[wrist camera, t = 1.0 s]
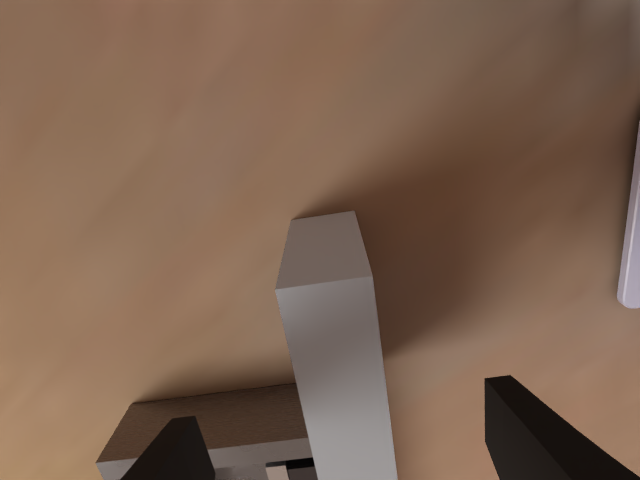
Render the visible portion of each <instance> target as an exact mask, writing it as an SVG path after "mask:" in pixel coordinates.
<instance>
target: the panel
mask: <svg viewBox="0 0 640 480" xmlns="http://www.w3.org/2000/svg"><path fill="white" fill-rule="evenodd" d="M275 291H276V295H277V300H278V304H279V309H280V313H281V318H282V322H283V326H284V331H285V335H286V340H287V344H288V349H289V353H290V357H291V362H292V366H293V371H294V375H295V380H296V384H297V388H298V393H299V397H300V402H301V406H302V411H303V415H304V419H305V424H306V428H307V433H308V437H309V442H310V446H311V450H312V455H313V459H314V464H315V468H316V473H317V477H318V480H398V478H397V470H396V462H395V454H394V446H393V438H392V429H391V421H390V413H389V405H388V397H387V389H386V381H385V373H384V364H383V356H382V348H381V340H380V332H379V324H378V316H377V307H376V299H375V291H374V283H373V275H372V272H371V268H370V265H369V261H368V257H367V254H366V250H365V247H364V243H363V239H362V236H361V232H360V229H359V225H358V221H357V218H356V214H355V211H348V212H341V213H335V214H328V215H322V216H315V217H308V218H302V219H295V220H291V222H290V226H289V231H288V235H287V240H286V244H285V249H284V253H283V257H282V262H281V266H280V271H279V275H278V279H277V284H276V288H275Z"/></svg>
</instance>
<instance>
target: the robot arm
mask: <svg viewBox="0 0 640 480" xmlns="http://www.w3.org/2000/svg"><path fill="white" fill-rule="evenodd" d="M617 299H618V301H619V302H620V303H621V304H623V305H624V306H625V307H628V308H640V122H639V130H638V138H637V145H636V153H635V161H634V169H633V176H632V184H631V192H630V199H629V207H628V215H627V223H626V230H625V238H624V246H623V253H622V261H621V269H620V277H619V284H618V292H617ZM485 442H486V445H487V448H488V450H489V453H490V456H491V458H492V461H493V464H494V466H495V469H496V471H497V474H498V476H499V479H500V480H640V477H639V476H637V475H636V474H635V473H633V472H632V471H630V470H629V469H628V468H626V467H625V466H623V465H622V464H621V463H619V462H618V461H617V460H615V459H614V458H613V457H611V456H610V455H609V454H607V453H606V452H605V451H603V450H602V449H601V448H600V447H598V446H597V445H596V444H594V443H593V442H592V441H591V440H589V439H588V438H587V437H585V436H584V435H583V434H582V433H580V432H579V431H578V430H576V429H575V428H574V427H573V426H571V425H570V424H569V423H568V422H566V421H565V420H564V419H563V418H562V417H560V416H559V415H558V414H557V413H555V412H554V411H553V410H552V409H551V408H549V407H548V406H547V405H546V404H545V403H543V402H542V401H541V400H540V399H539V398H537V397H536V396H535V395H534V394H533V393H531V392H530V391H529V390H528V389H527V388H525V387H524V386H523V385H522V384H521V383H519V382H518V381H517V380H516V379H515V378H513V377H512V376H511V375H508V376H500V377H492V378H485ZM215 475H216V473H215V470H214V467H213V465H212V462H211V459H210V456H209V453H208V450H207V448H206V445H205V442H204V439H203V436H202V433H201V431H200V428H199V425H198V422H197V419H196V417H195V416H187V417H180V418H172V419H171V420H170V421H169V422H168V423H167V425H166V426H165V427H164V428H163V429H162V430H161V432H160V433H159V434H158V435H157V436H156V437H155V439H154V440H153V441H152V442H151V443H150V445H149V446H148V447H147V448H146V449H145V451H144V452H143V453H142V454H141V455H140V457H139V458H138V459H137V460H136V461H135V463H134V464H133V465H132V466H131V467H130V468H129V470H128V471H127V472H126V473H125V474H124V475H123V477H122V478H121V479H120V480H215Z"/></svg>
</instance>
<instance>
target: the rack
mask: <svg viewBox="0 0 640 480" xmlns="http://www.w3.org/2000/svg"><path fill="white" fill-rule="evenodd" d="M187 416H195V417H196V419H197V422H198V425H199V428H200V431H201V433H202V436H203V439H204V442H205V445H206V448H207V450H208V453H209V456H210V459H211V462H212V465H213V467H214V470H215V473H216V475H215V480H318V477H317V473H316V468H315V464H314V459H313V455H312V450H311V446H310V442H309V437H308V433H307V428H306V424H305V419H304V415H303V411H302V406H301V402H300V397H299V393H298V388H297V384H296V383H294V384H286V385H278V386H270V387H262V388H254V389H247V390H239V391H231V392H223V393H215V394H207V395H199V396H191V397H184V398H176V399H168V400H160V401H152V402H144V403H136V404H131V405H130V406H129V408H128V410H127V411H126V413H125V415H124V416H123V418H122V420H121V421H120V423H119V425H118V426H117V428H116V430H115V431H114V433H113V435H112V436H111V438H110V440H109V441H108V443H107V445H106V446H105V448H104V450H103V451H102V453H101V455H100V456H99V458H98V460H97V461H96V465H97V467H98V469H99V471H100V473H101V475H102V477H103V479H104V480H120V479H121V478H122V477H123V475H124V474H125V473H126V472H127V471H128V470H129V468H130V467H131V466H132V465H133V464H134V463H135V461H136V460H137V459H138V458H139V457H140V455H141V454H142V453H143V452H144V451H145V449H146V448H147V447H148V446H149V445H150V443H151V442H152V441H153V440H154V439H155V437H156V436H157V435H158V434H159V433H160V432H161V430H162V429H163V428H164V427H165V426H166V425H167V423H168V422H169V421H170V420H171V419H172V418H180V417H187Z"/></svg>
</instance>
